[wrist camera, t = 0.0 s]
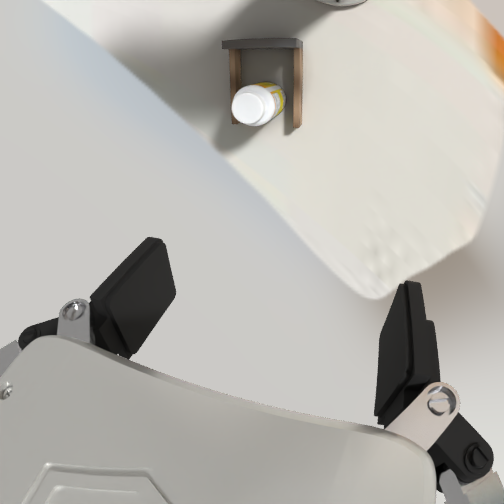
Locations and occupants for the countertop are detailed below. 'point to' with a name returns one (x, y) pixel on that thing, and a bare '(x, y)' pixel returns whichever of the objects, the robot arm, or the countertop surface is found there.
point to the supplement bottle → (258, 103)
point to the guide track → (266, 43)
